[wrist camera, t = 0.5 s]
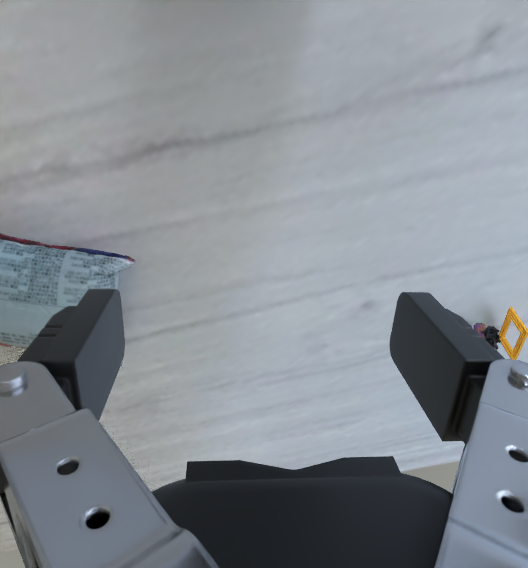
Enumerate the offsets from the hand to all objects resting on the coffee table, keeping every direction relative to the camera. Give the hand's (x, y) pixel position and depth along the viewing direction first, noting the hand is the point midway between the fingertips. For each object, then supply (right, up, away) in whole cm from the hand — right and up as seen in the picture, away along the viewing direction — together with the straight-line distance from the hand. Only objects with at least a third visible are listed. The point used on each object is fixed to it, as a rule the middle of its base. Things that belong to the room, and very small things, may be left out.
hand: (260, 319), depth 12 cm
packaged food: (-15, +1, +19) cm, 24 cm away
